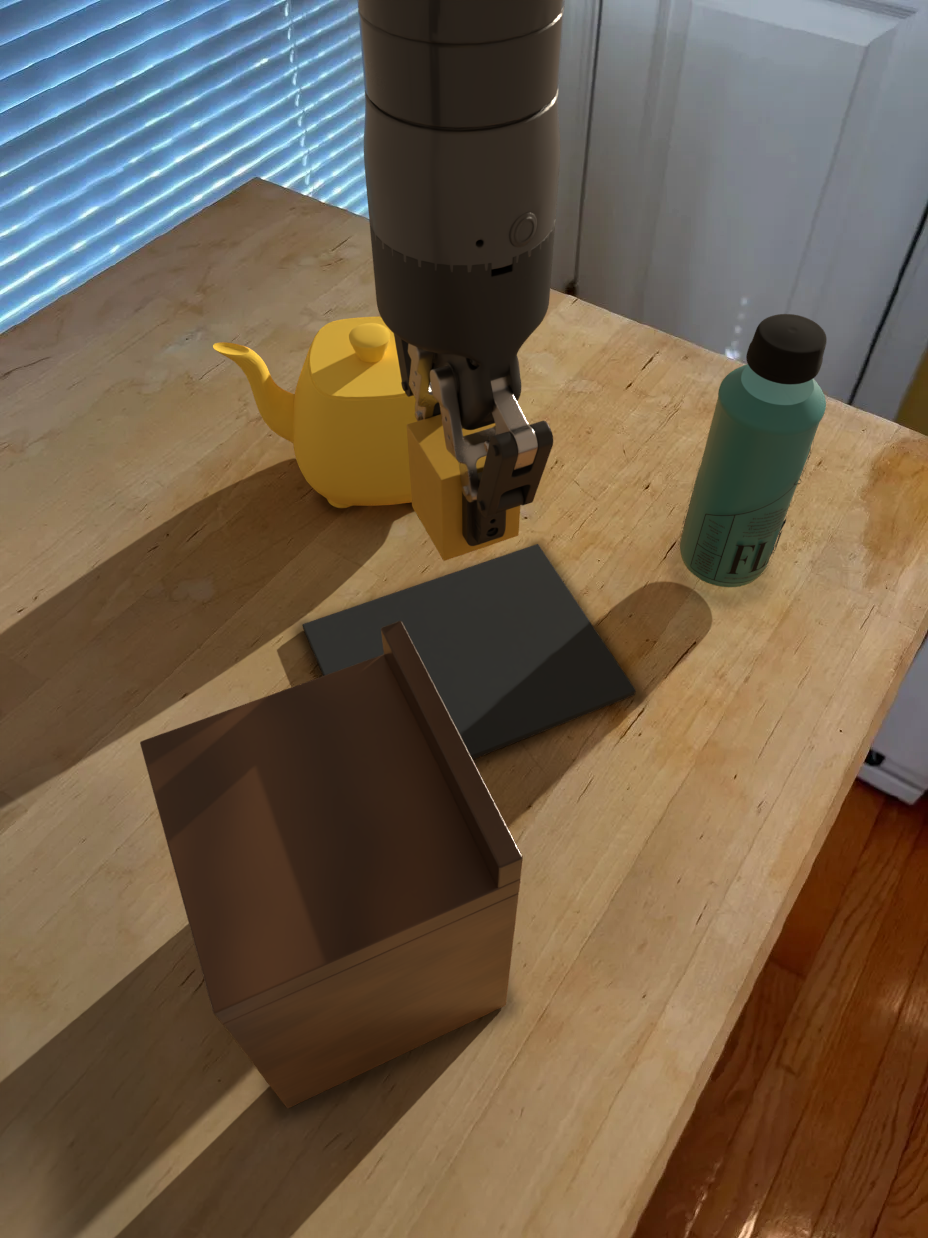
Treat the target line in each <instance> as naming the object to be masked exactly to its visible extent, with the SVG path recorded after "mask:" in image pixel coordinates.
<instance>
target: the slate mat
mask: <svg viewBox="0 0 928 1238" xmlns="http://www.w3.org/2000/svg"><path fill="white" fill-rule="evenodd" d="M398 621H402V622H403V624H404V626H405V628H406V630H407V632H408V634H409V636H410V638H411V640H412V642H413V644H414V646H415V648H416V650H417V652H418V654H419V656H420V657H421V659H422V661H423V663H424V665H425V667H426V669H427V671H428V673H429V675H430V677H431V679H432V681H433V683H434V685H435V687H436V689H437V691H438V693H439V694H440V696H441V698H442V700H443V702H444V704H445V706H446V708H447V710H448V712H449V714H450V716H451V718H452V720H453V722H454V724H455V726H456V728H457V730H458V731H459V733H460V735H461V737H462V739H463V741H464V743H465V745H466V747H467V749H468V751H469V753H470V755H471V757H472V759H473V760H475V759H478V758H480V757H482V756H483V757H484V756H485V755H487V754H490V753H492V752H495V751H497V750H500V749H502V748H505V747H508V746H510V745H513V744H515V743H517V742H520V741H523V740H525V739H528V738H531V737H533V736H535V735H538V734H540V733H543V732H545V731H548V730H550V729H553V728H555V727H559V726H560V725H563V724H566V723H568V722H571V721H574V720H576V719H579V718H581V717H583V716H585V715H588V714H591V713H594V712H596V711H598V710H600V709H603V708H605V707H608V706H611V705H613V704H616V703H618V702H621V701H624V700H626V699H628V698H630V697H633V696H635V695H636V692H637V691H636V688H635V687H634V685H633V683H631V681H630V679H629V678H628V676H627V675H626V674H625V672H624V670H623V669H622V667H621V666H620V664H619V663H618V661H617V660H616V659H615V656H614V655H613V654H612V652H611V651H610V649H609V647H607V645H606V643H605V642H604V640H603V639H602V638H601V636H600V634H599V633H598V631H597V630H596V628H595V627H594V625H593V624H592V622H591V621H590V620H589V618H588V617H587V615H586V613H585V612H584V610H583V609H582V607H581V606H580V604H579V603H578V602H577V600H576V598H575V597H574V595H573V594H572V593H571V591H570V590H569V588H568V586H567V585H566V584H565V582H564V581H563V579H562V578H561V575H560V574H559V573H558V572H557V570H556V568H555V567H554V566H553V564H552V562H551V561H550V559H549V558H548V556H547V555H546V553H545V552H544V551H543V549H542V548H541V545H540V544H538V543H536V544H533V545H529V546H527V547H524V548H521V549H518V550H515V551H513V552H510V553H507V554H504V555H501V556H498V557H495V558H492V559H489V560H486V561H483V562H481V563H477V564H475V565H472V566H468V567H466V568H463V569H459V570H457V571H454V572H451V573H448V574H445V575H442V576H439V577H437V578H433V579H431V580H428V581H424V582H422V583H419V584H415V585H413V586H410V587H407V588H405V589H401V590H398V591H396V592H393V593H390V594H386V595H384V596H380V597H378V598H374V599H372V600H369V601H366V602H363V603H360V604H358V605H355V606H351V607H349V608H346V609H343V610H340V611H337V612H334V613H331V614H328V615H325V616H323V617H322V616H321V617H320V618H315V619H314V620H310V621H307V622H304V623H303V624H302V629H303V632H304V634H305V637H306V639H307V642H308V643H309V646H310V648H311V651H312V653H313V655H314V658H315V660H316V663H317V664H318V668H319V670H320V672H321V674H322V676H325V675H328V674H330V673H333V672H336V671H339V670H341V669H344V668H347V667H350V666H353V665H355V664H358V663H361V662H364V661H367V660H369V659H372V658H375V657H378V656H381V655H383V654H384V650H383V642H382V634H381V628H382V627H384V626H387V625H390V624H393V623H396V622H398Z"/></svg>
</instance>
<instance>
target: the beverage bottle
mask: <svg viewBox="0 0 928 1238" xmlns="http://www.w3.org/2000/svg"><path fill="white" fill-rule="evenodd" d="M827 339H828V338H827V334H826V331H825V330H824V328H823V327H821V325H819V324H818V323H817V322H815V321H814V320H812V319H810V318H808V317H805V316H802V315H798V314H794V313H793V314H792V313H779V314H773V315H771V316H768V317H765V318H764V319H763V320H761V321H760V323H759V324H758V325H757V326H756V328H755V332H754V334H753V337H752V340H751V342H750V343H749V345H748V348H747V352H746V357H745V359H746V363H747V364H744V365H741V366H739V367H737V368H735V369H734V370H732V371H730V372H729V373H727V374H726V376H724V378H723V379H722V381H721V382H720V384H719V387H718V391H717V399H716V403H715V407H714V411H713V415H712V419H711V423H710V427H709V429H708V430H709V432H708V435H707V439H706V442H705V446H704V452H703V453H702V457H701V461H700V463H698V466H699V467H697V468H696V471H697V472H696V476H695V479H694V483H693V487H692V489H690V492H692V493H691V494H689V496H688V497H690V495H691V497H690V499H689V500H687V503H688V504H687V509H686V511H685V512H686V515H683V516H684V517H683V520H682V525H681V528H680V529H682V530H680V532H679V533H681V534H680V535H679V536H678V537H679V540H678V543H677V544H678V546H679V550H680V556H681V560H682V562H683V564H684V565H685V567H686V569H687V570H688V571H689V572H690V573H691V574H692V575H693V576H694V577H696V578H697V579H699V580H700V581H703V582H704V583H707V584H709V585H712V586H716V587H722V588H738V587H739V588H740V587H743V586H746V585H749V584H751V583H752V582H754V581H755V580H757V579H758V578H759V577H761V576H762V575H763V574H764V572H765V571H766V570H767V567H769V565H770V564H771V562H770V561H772V560H773V558H772V556H774V554H775V553H776V549H777V547H778V545H779V541H780V539H781V535H782V533H783V528H784V526H785V524H786V522H787V518H786V517H787V515H788V514H787V513H788V512H789V509H790V507H791V504H792V502H793V501H792V500H793V498H794V496H795V495H794V494H795V492H796V489H797V487H798V485H800V484H801V482H802V479H801V477H803V475H804V472H805V471H806V468H807V466H808V462H809V461H810V457H811V455H812V453H813V452H812V450H813V448H814V447H812V446H813V444H814V443H815V436H816V434H817V431H818V428H819V425H820V422H821V421H822V420H823V418H824V416H825V412H826V408H827V399H826V395H825V393H824V392H823V389H822V388H821V386H820V385H819V384H818V382H817V380H816V379H815V378H816V377H817V376H818V374H819V372H820V371H821V367H822V365H823V360H824V355H825V351H826V346H827ZM770 559H771V560H770Z"/></svg>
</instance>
